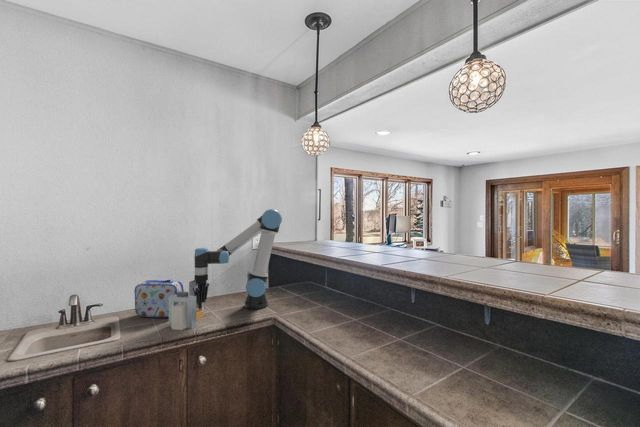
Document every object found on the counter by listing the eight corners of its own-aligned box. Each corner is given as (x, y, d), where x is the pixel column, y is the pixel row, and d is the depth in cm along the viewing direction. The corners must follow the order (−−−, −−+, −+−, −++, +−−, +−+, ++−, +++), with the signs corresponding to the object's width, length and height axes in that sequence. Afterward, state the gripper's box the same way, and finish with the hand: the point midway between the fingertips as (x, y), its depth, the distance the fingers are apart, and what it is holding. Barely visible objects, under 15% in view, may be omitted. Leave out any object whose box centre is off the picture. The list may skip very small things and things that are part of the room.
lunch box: (187, 312, 183) (187, 277, 183) (179, 318, 173) (179, 281, 173) (142, 312, 184) (142, 277, 184) (132, 318, 173) (132, 280, 173)
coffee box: (197, 306, 195) (197, 282, 195) (188, 306, 196) (188, 281, 196) (205, 302, 204) (205, 279, 204) (196, 302, 205) (196, 278, 205)
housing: (196, 326, 162) (196, 292, 162) (191, 328, 158) (191, 294, 158) (173, 324, 165) (173, 290, 165) (168, 326, 161) (168, 292, 161)
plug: (196, 315, 178) (196, 295, 178) (205, 316, 177) (205, 296, 177) (171, 329, 158) (171, 306, 158) (181, 330, 157) (181, 307, 156)
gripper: (202, 271, 185) (202, 309, 186) (188, 275, 173) (188, 316, 173) (213, 272, 184) (213, 310, 184) (200, 276, 171) (200, 317, 171)
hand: (201, 313), depth 178 cm, fingers closed
